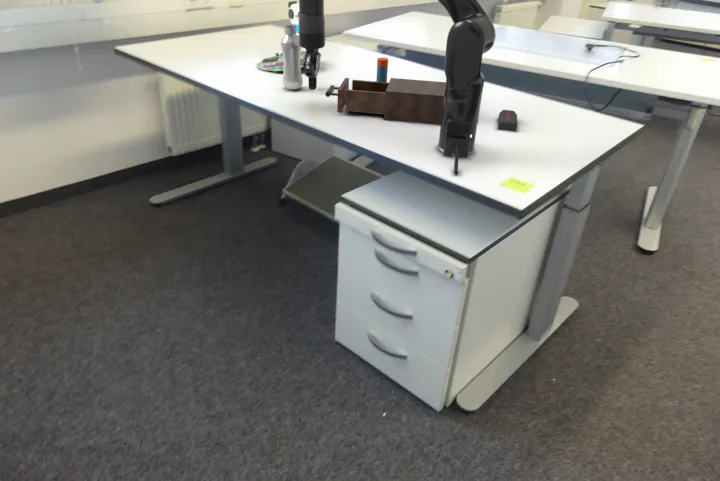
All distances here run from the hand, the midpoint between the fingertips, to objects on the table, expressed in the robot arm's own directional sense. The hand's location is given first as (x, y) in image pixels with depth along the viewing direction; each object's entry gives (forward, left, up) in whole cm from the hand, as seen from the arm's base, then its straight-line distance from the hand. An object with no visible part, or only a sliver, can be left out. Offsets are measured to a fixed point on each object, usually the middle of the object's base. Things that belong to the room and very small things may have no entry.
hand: (312, 88), depth 166 cm
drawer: (0, -16, -5) cm, 16 cm away
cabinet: (0, -33, -5) cm, 33 cm away
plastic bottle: (+15, +10, -6) cm, 19 cm away
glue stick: (+15, -20, -5) cm, 25 cm away
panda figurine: (+87, +26, -6) cm, 91 cm away
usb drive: (-1, -60, -6) cm, 60 cm away
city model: (+42, +19, -6) cm, 47 cm away
